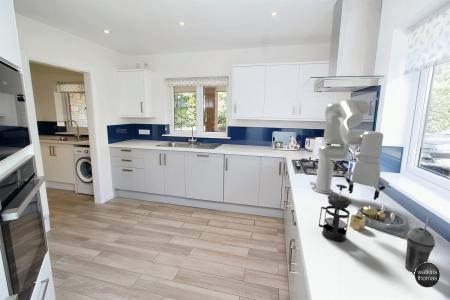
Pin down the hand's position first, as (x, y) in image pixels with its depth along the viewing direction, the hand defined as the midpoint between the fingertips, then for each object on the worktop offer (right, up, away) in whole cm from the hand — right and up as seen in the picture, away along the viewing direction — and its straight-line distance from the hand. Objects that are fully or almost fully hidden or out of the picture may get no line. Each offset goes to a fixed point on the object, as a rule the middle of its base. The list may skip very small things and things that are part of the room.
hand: (362, 195), depth 100 cm
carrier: (+15, -15, +10) cm, 23 cm away
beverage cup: (+2, -21, -24) cm, 32 cm away
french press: (-16, -16, -5) cm, 24 cm away
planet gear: (-1, -16, +3) cm, 16 cm away
